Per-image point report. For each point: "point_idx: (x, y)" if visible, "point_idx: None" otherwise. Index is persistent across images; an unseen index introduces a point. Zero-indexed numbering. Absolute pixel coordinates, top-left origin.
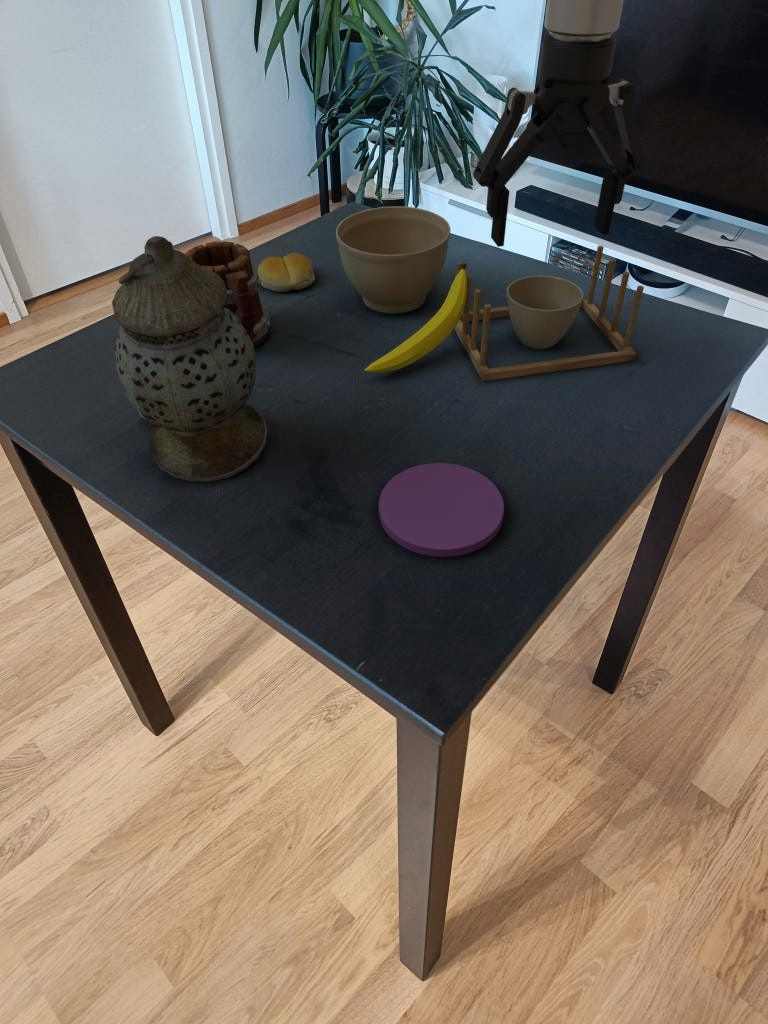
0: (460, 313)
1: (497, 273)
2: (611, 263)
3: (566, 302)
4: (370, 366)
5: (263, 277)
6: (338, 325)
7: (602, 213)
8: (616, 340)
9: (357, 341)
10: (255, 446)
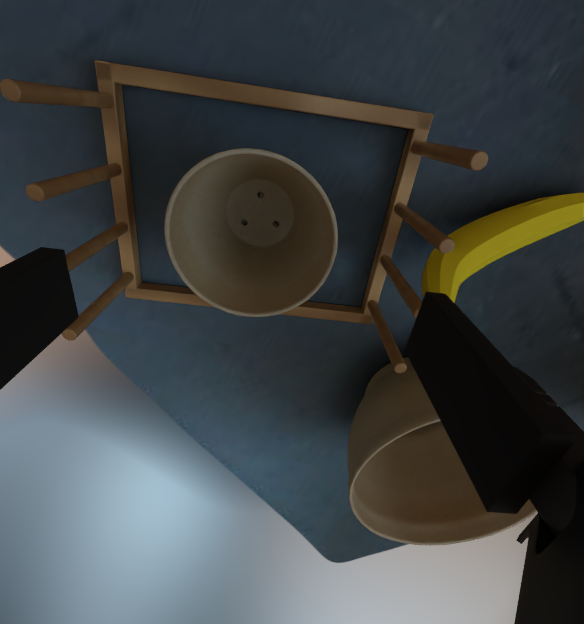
0: (437, 254)
1: (235, 406)
2: None
3: (193, 242)
4: None
5: None
6: (520, 357)
7: (29, 309)
8: (120, 133)
9: (526, 311)
10: None
